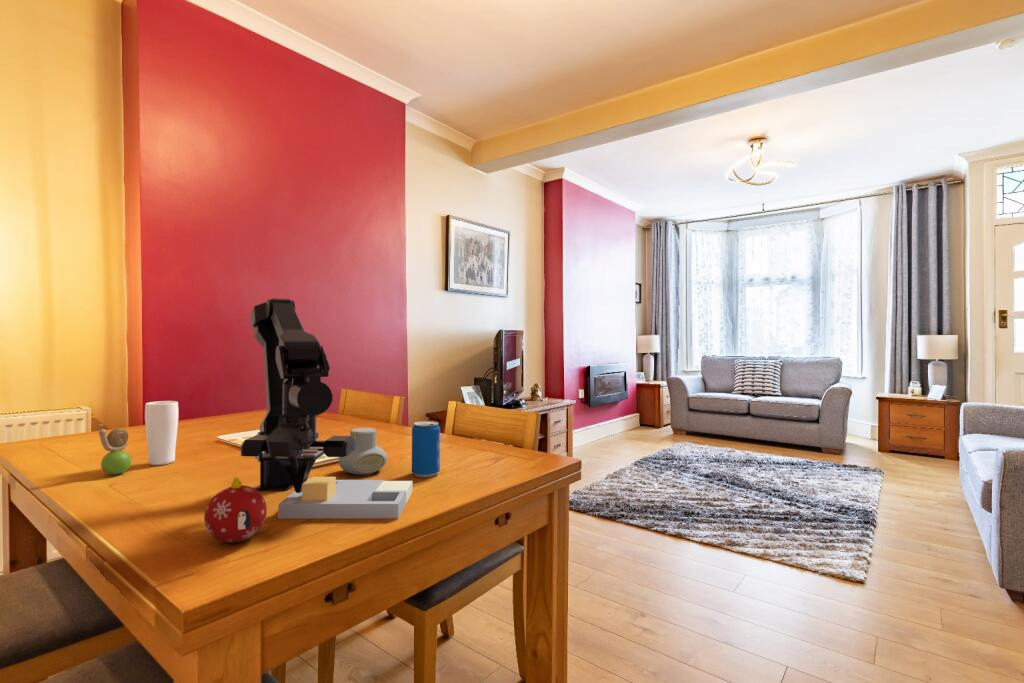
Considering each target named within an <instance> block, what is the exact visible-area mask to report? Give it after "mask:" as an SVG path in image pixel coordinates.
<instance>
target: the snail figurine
mask: <svg viewBox="0 0 1024 683" xmlns="http://www.w3.org/2000/svg"><path fill="white" fill-rule="evenodd" d="M97 427H98V430H99V431H98V435H99V439H100V442H101V446H102V447H103V449H104V450H105V451H108V453H106V454H104V456H103V457H102V459H101V463H100V466H101V469H102V470H103V472H104V473H106V474H108V475H111V476H112V475H113V476H114V475H120V474H123V473H125V472H127V470H128V469H130V467H131V464H132V460H133V459H132V457H131V455H130V453H128V452H127V451H125V450H124V449H125V448H126V447H127V446H128V443H127V442H128V440H129V433H128V431H127V430H126V429H124V428H122V427H121V428H120V427H119V428H114V429H112V430H111V431H110V432H109V433H108V434H107V430H106V429H104V428H103V427H104V424H100V423H99V424H98V425H97Z"/></svg>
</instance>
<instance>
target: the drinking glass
mask: <svg viewBox="0 0 1024 683" xmlns="http://www.w3.org/2000/svg"><path fill="white" fill-rule="evenodd" d="M179 413H180V412H179V402H178V401H176V400H159V401H150V402H146V403H145V406H144V424H145V434H146V443H147V453H148V464H149V465H151V466H163V465H164V466H165V465H169V464H172V463H174V462H175V460H176V448H177V447H176V446H177V437H178V429H179V428H178V427H179V415H180V414H179Z"/></svg>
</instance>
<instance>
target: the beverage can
mask: <svg viewBox="0 0 1024 683" xmlns="http://www.w3.org/2000/svg"><path fill="white" fill-rule="evenodd" d="M440 469H441V427H440V425H439V422H438V421H434V420H420V421H416V422H414V423H413V426H412V428H411V473H412V474H414V476H415V477H417V478H432V477H435V476H436V475H437V474H438V473H439V472H440V471H441V470H440Z"/></svg>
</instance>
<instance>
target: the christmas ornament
mask: <svg viewBox="0 0 1024 683" xmlns="http://www.w3.org/2000/svg"><path fill="white" fill-rule="evenodd" d="M267 510H268V509H267V502H266V500H265V497H264V496H263V495H262V493H261V492H259V490H256V488H254V487H252V486H248V485H242V481H241V480H240V478H239V477H237V476H236V477H234V478H233V481H231V486H229V487H226V488H224V489H222V490H220V491H219V492H217V493H216V494H215V495H214V496H213V497H212V498H211V499H210V500H209V502H208V504H207V506H206V508H205V511H204V516H203V519H204V522H203V523H204V526H205V528H206V530H207V533H208V534H209V535H210V537H212V538H214V539H215V540H217V541H219V542H221V543H226V544H235V543H241V542H244V541H246V540H248V539H250V538H251V537H253V536H254V535H255V534H256V533H257V532H259V530H260V529H261V528H262V526H263V525H264V522H265V520H266V517H267V513H268V512H267Z"/></svg>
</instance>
